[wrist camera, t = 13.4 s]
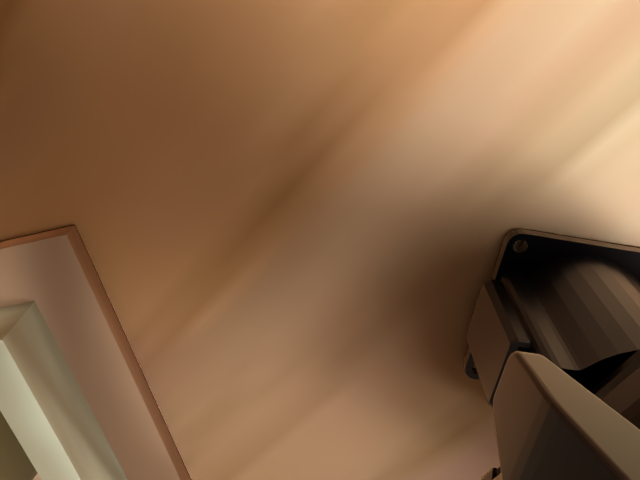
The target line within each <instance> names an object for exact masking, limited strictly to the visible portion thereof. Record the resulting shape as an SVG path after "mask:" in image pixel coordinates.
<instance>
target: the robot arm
mask: <svg viewBox="0 0 640 480" xmlns="http://www.w3.org/2000/svg"><path fill="white" fill-rule="evenodd" d="M518 240H524V244H523V245H522V246H521V247H518V248H515V247H513V245H514V244H515V242H516V241H518ZM466 339H467V342H468V345H469V346H468V349H467V352H466V355H465V358H464V363H463V365H464V369H465V372H466V374H467V375H468V376H469V377H470V378H473V379H478V380H480V381H481V384H482V387H483V390H484V393H485V396H486V399H487V402H488V404H489V405H490V406H491V408H492V409H493V415H494V423H495V430H496V438H497V445H498V452H499V460H500V467H499V468H498V469H497V468H493V469H492V470H490V471H489V472H488V473H487V474H486V475H484V476H483V477H482V479H481V480H640V248H636V247H629V246H623V245H617V244H611V243H605V242H599V241H593V240H586V239H580V238H574V237H568V236H562V235H556V234H549V233H543V232H537V231H531V230H525V229H515V230H513V231H510V232H509V233H508V234H507V235H506V237H505V238H504V241H503V244H502V247H501V250H500V253H499V256H498V259H497V262H496V265H495V268H494V271H493V274H492V277H491V279H488V280H487V281H485V282H484V283H483V284H482V287H481V290H480V293H479V296H478V299H477V302H476V305H475V308H474V311H473V314H472V318H471V321H470V324H469V327H468V330H467V333H466ZM473 365H475V366H476V368H473Z"/></svg>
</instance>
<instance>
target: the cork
mask: <svg viewBox="0 0 640 480" xmlns="http://www.w3.org/2000/svg"><path fill="white" fill-rule="evenodd" d="M36 475H37V471H36V469H35V468H34V466H33V464H32V463H31V461H30V459H29V458H28V456H27V454H26V453H25V451H24V449H23V448H22V446H21V444H20V443H19V441H18V439H17V438H16V436H15V434H14V433H13V431H12V429H11V428H10V426H9V424H8V423H7V421H6V419H5V418H4V416H3V414H2V413H1V411H0V480H33V478H34V477H35V476H36Z"/></svg>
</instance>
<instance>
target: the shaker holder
mask: <svg viewBox="0 0 640 480" xmlns="http://www.w3.org/2000/svg"><path fill="white" fill-rule="evenodd" d="M0 411H1V413H2V414H3V416H4V418H5V419H6V421H7V423H8V424H9V426H10V428H11V429H12V431H13V433H14V434H15V436H16V438H17V439H18V441H19V443H20V444H21V446H22V448H23V449H24V451H25V453H26V454H27V456H28V458H29V459H30V461H31V463H32V464H33V466H34V468H35V469H36V471H37V475H36V476H35V477H34V478H33V480H191V479H190V477H189V475H188V472H187V470H186V468H185V466H184V464H183V461H182V459H181V457H180V455H179V453H178V450H177V448H176V446H175V444H174V442H173V439H172V437H171V435H170V433H169V431H168V428H167V426H166V424H165V422H164V420H163V417H162V415H161V413H160V411H159V409H158V406H157V404H156V402H155V400H154V398H153V396H152V393H151V391H150V389H149V387H148V385H147V382H146V380H145V378H144V376H143V374H142V371H141V369H140V367H139V365H138V363H137V360H136V358H135V356H134V354H133V352H132V349H131V347H130V345H129V343H128V341H127V338H126V336H125V334H124V332H123V330H122V327H121V325H120V323H119V321H118V319H117V316H116V314H115V312H114V310H113V308H112V305H111V303H110V301H109V299H108V297H107V295H106V292H105V290H104V288H103V286H102V284H101V281H100V279H99V277H98V275H97V273H96V270H95V268H94V266H93V264H92V262H91V259H90V257H89V255H88V253H87V251H86V248H85V246H84V244H83V242H82V240H81V237H80V235H79V233H78V231H77V229H76V226H75V225H74V226H69V227H65V228H60V229H56V230H51V231H47V232H42V233H38V234H34V235H29V236H25V237H20V238H16V239H11V240H7V241H2V242H0Z"/></svg>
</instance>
